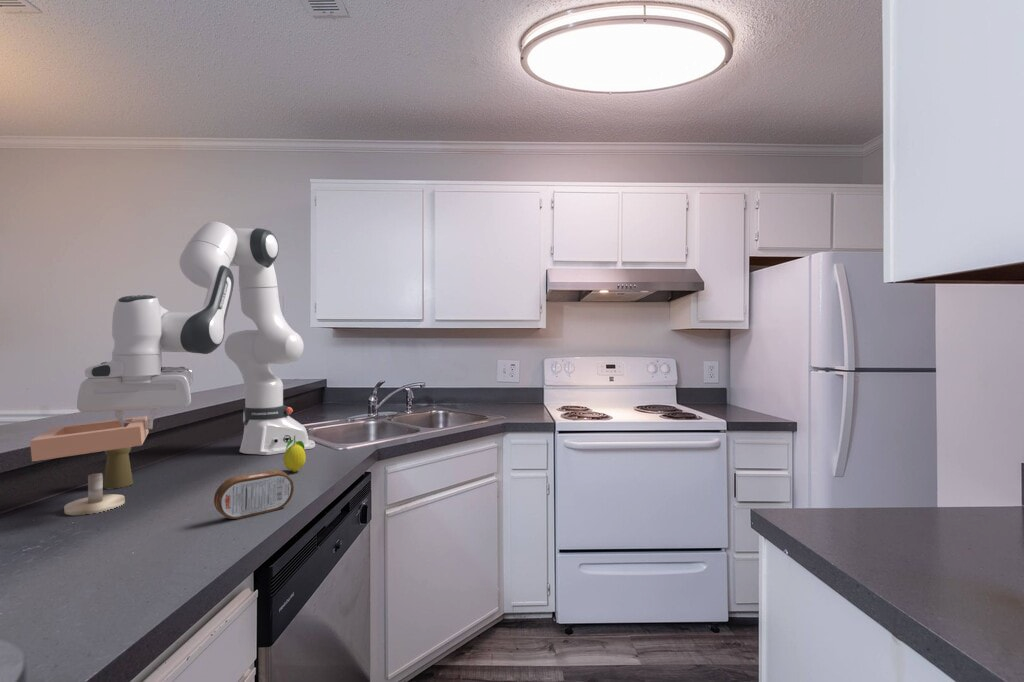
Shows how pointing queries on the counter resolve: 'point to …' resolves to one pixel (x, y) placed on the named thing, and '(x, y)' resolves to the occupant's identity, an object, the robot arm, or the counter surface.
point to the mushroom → (94, 499)
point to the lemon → (294, 455)
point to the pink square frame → (88, 438)
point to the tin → (253, 494)
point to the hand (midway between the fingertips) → (137, 429)
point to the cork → (117, 468)
